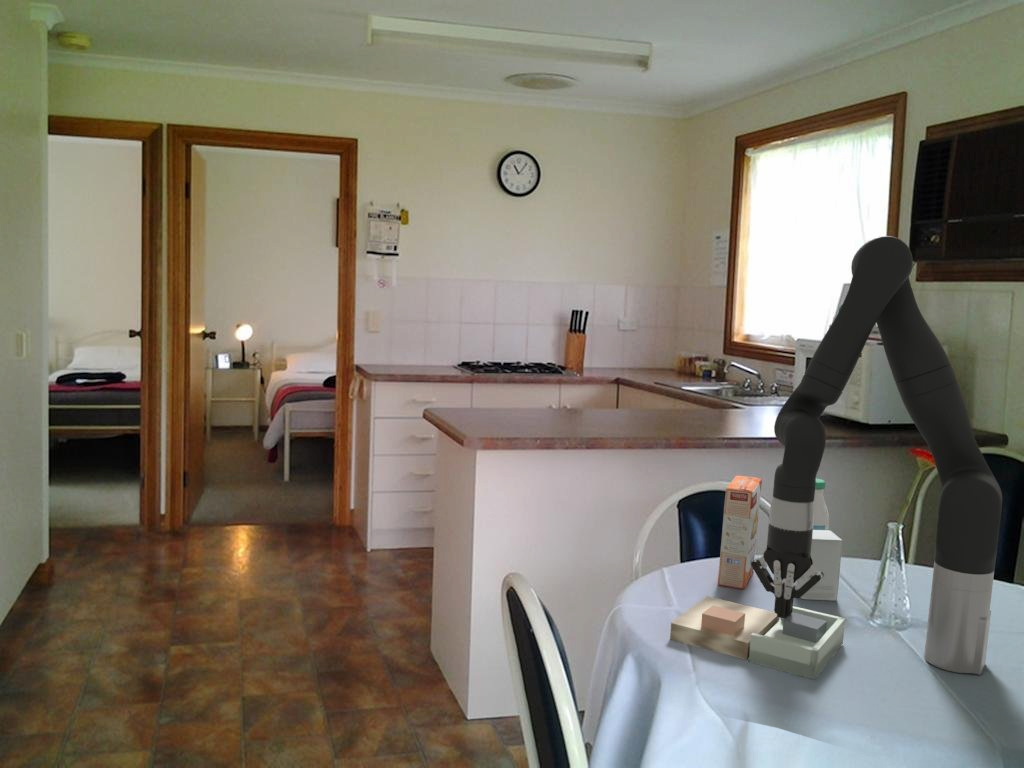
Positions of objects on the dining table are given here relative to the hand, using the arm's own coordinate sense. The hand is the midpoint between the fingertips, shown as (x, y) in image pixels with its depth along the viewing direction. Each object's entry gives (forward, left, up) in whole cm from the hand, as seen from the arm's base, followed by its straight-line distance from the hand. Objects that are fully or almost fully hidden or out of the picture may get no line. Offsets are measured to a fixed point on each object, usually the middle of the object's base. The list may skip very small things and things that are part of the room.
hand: (782, 616), depth 171 cm
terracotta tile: (+8, +9, -1) cm, 12 cm away
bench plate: (+9, +4, -4) cm, 11 cm away
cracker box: (+18, -27, -4) cm, 32 cm away
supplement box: (+2, -28, -4) cm, 28 cm away
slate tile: (-4, +1, -2) cm, 5 cm away
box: (-4, +4, -4) cm, 7 cm away
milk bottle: (+8, -44, -4) cm, 44 cm away
